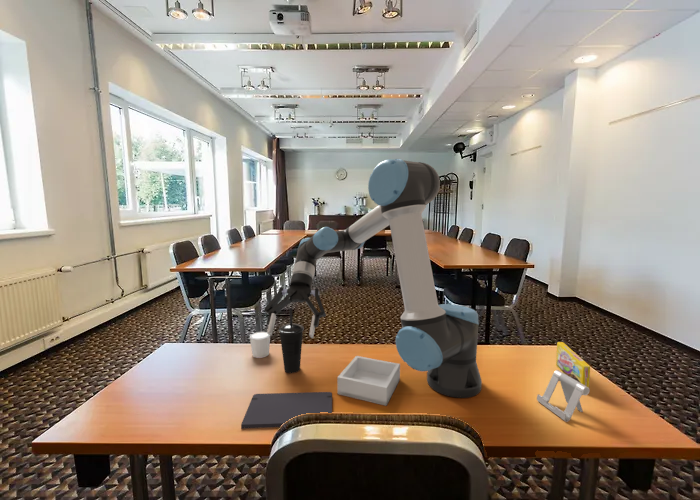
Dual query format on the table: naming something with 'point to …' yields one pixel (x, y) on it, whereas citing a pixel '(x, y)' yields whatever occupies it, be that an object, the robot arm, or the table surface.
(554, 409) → the portable electronic device stand
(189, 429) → the table surface
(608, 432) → the table surface
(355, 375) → the cup tray
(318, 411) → the notebook
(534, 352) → the table surface
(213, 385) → the table surface
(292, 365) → the drinking cup
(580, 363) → the candy box
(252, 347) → the white tapered cylinder
